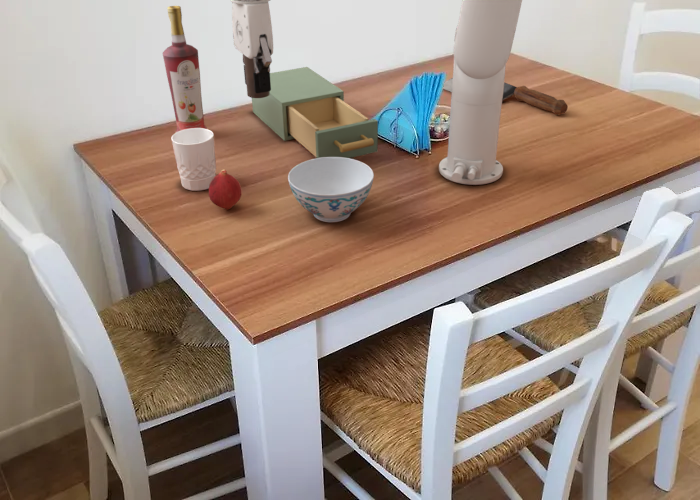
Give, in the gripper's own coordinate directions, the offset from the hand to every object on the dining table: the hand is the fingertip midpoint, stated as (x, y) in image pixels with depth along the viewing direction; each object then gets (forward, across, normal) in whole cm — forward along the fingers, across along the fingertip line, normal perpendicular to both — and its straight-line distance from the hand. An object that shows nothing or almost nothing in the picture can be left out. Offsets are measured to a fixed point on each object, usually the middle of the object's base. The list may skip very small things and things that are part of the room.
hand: (258, 86), depth 140 cm
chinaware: (+16, +27, +3) cm, 32 cm away
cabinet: (+16, -17, +15) cm, 27 cm away
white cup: (+16, +4, -15) cm, 22 cm away
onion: (+16, +17, -14) cm, 27 cm away
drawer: (+15, +3, +15) cm, 21 cm away
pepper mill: (+2, 0, 0) cm, 2 cm away
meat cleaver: (+16, -5, +64) cm, 66 cm away
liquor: (+16, -20, -10) cm, 27 cm away
